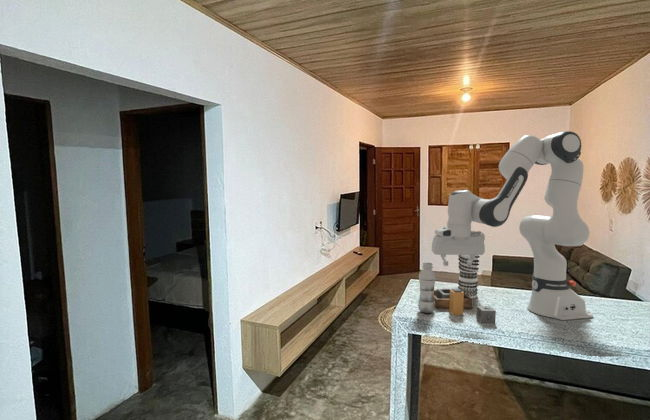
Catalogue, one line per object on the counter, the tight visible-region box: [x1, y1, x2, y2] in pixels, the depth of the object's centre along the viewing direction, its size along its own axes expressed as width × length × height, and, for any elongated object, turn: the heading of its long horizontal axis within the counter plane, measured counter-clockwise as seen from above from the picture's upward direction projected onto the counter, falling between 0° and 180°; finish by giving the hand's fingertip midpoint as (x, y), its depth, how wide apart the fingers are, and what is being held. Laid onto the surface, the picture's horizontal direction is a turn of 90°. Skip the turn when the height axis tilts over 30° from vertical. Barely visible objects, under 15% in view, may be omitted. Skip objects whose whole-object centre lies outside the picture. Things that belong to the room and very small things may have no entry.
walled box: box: [434, 288, 473, 310], centre depth 153 cm, size 15×13×5 cm
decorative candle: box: [457, 255, 481, 299], centre depth 164 cm, size 9×9×25 cm
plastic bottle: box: [417, 261, 437, 314], centre depth 143 cm, size 6×7×20 cm
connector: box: [449, 288, 464, 316], centre depth 142 cm, size 4×4×10 cm
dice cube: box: [475, 305, 497, 325], centre depth 134 cm, size 5×5×5 cm
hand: (457, 265), depth 141 cm, fingers open, 8 cm apart
